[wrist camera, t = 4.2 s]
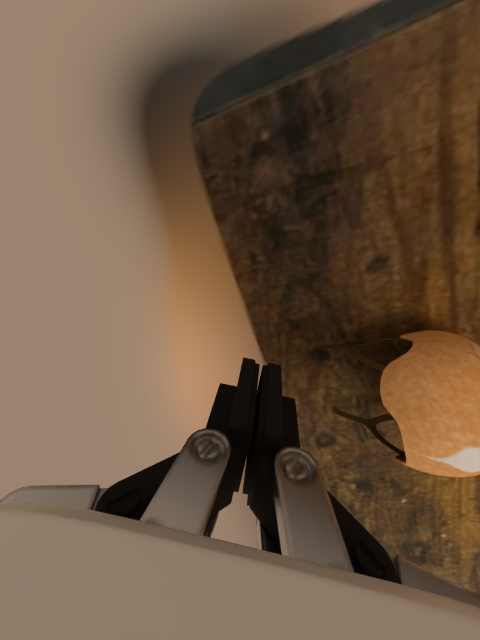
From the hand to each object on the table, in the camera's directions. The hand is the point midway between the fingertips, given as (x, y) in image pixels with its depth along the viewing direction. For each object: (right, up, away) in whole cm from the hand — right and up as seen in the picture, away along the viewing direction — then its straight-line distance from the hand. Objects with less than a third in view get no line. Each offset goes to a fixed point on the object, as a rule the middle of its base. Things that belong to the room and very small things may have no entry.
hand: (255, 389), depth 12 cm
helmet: (+8, +1, +4) cm, 9 cm away
